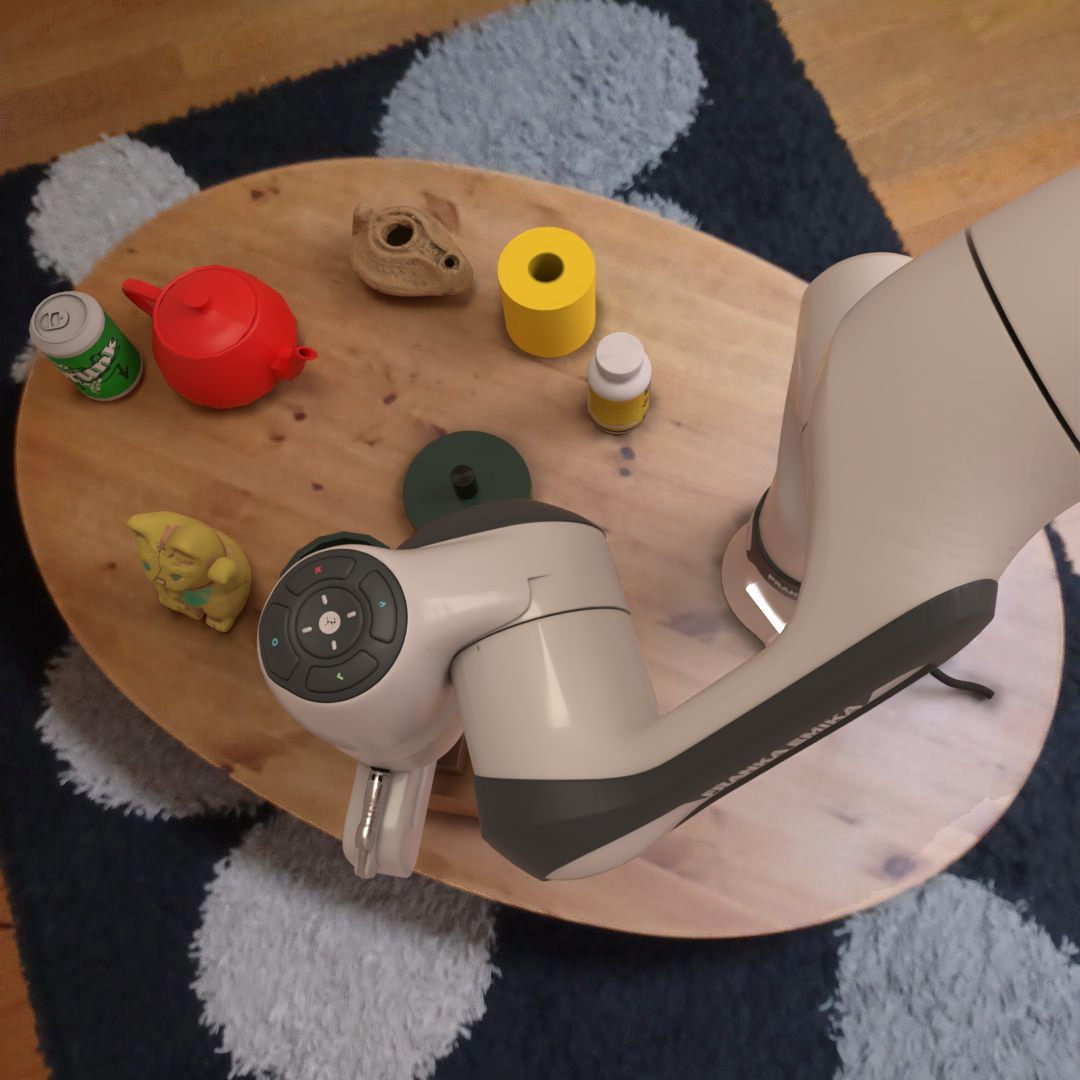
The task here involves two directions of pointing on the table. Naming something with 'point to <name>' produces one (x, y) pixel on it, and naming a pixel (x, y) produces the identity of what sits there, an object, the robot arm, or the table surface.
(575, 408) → the table surface
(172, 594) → the figurine
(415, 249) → the oil lamp
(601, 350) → the pill bottle
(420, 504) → the tin lid
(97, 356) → the soda can
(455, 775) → the stand
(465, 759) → the block
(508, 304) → the yellow cylinder with hole
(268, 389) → the teapot
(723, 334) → the table surface
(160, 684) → the table surface
